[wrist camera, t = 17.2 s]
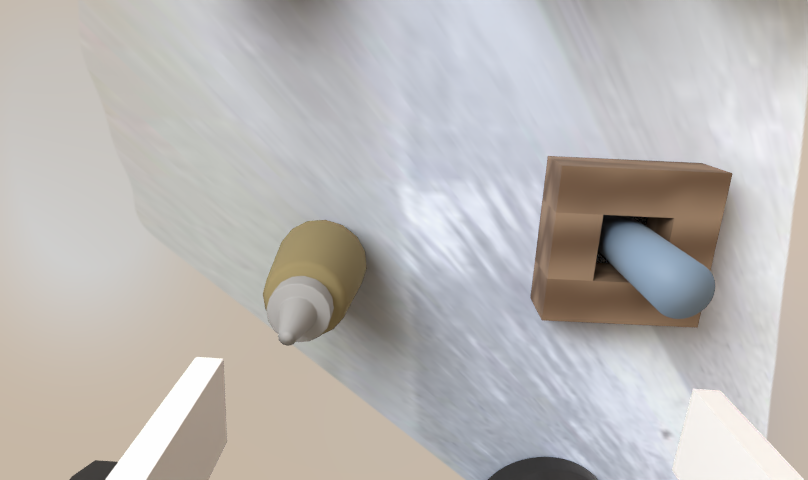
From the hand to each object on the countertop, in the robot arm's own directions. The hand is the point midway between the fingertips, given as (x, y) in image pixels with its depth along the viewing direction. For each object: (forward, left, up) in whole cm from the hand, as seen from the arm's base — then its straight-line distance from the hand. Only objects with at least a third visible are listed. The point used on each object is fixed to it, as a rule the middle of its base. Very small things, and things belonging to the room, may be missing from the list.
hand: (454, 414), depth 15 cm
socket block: (-5, -18, -37) cm, 41 cm away
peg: (-5, -18, -37) cm, 41 cm away
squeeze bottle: (-8, +9, -37) cm, 39 cm away
